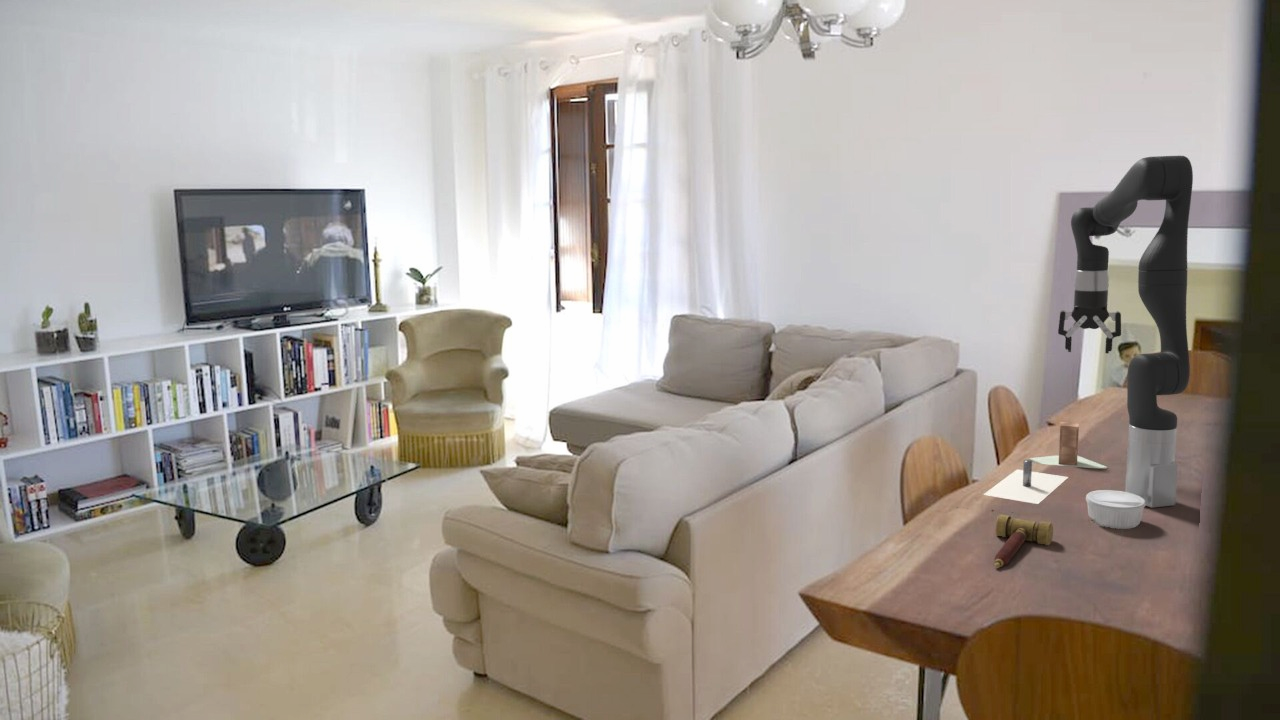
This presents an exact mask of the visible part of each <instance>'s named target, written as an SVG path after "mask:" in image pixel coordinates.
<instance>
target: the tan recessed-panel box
mask: <svg viewBox="0 0 1280 720" xmlns="http://www.w3.org/2000/svg"><path fill="white" fill-rule="evenodd" d="M1059 424H1060V425H1059V440H1058V441H1059V443H1058V444H1059V445H1058V446H1059V448H1058V455H1059V464H1064V465H1077V456H1079V454H1078V452H1079V435H1080V434H1079V431H1080V429H1079V428H1080V425H1079V422H1070V421H1069V422H1068V421H1059Z"/></svg>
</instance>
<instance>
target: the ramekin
mask: <svg viewBox="0 0 1280 720" xmlns="http://www.w3.org/2000/svg"><path fill="white" fill-rule="evenodd" d="M1085 501H1086V503H1087V512H1088V513H1087V514H1088V516H1089V517H1090V518H1091V522H1092V521H1093V524H1095V523H1096V525H1098V526H1100V525H1101V527H1104V526H1105V527H1106V528H1108V527H1110V529H1115V528H1116V529H1117V530H1118V529H1119V530H1127V529H1133V528H1136V527H1138V525H1140V523H1141V521H1142V517H1143V513H1144V508H1145V507H1146V506H1145V500H1144V499H1143V498H1142V497H1140V496H1138V495H1135V494H1132V493H1128V492H1125V491H1123V490H1122V491H1121V490H1111V489H1099V490H1098V489H1097V490H1093V491H1090V492H1088V493H1087V494H1086V495H1085ZM1105 527H1104V528H1105Z"/></svg>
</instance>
